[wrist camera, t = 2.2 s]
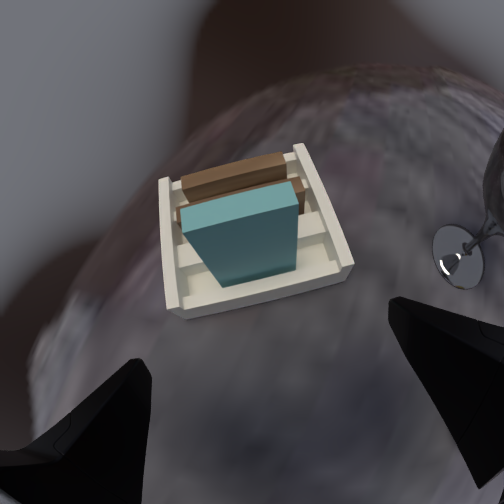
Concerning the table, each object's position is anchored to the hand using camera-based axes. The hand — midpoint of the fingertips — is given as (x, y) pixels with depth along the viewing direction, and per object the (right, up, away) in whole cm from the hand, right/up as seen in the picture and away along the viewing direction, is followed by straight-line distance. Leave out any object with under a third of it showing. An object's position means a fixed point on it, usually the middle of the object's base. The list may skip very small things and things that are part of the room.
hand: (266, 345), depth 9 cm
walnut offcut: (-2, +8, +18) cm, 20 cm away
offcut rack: (-1, +4, +17) cm, 17 cm away
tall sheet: (0, +1, +14) cm, 14 cm away
